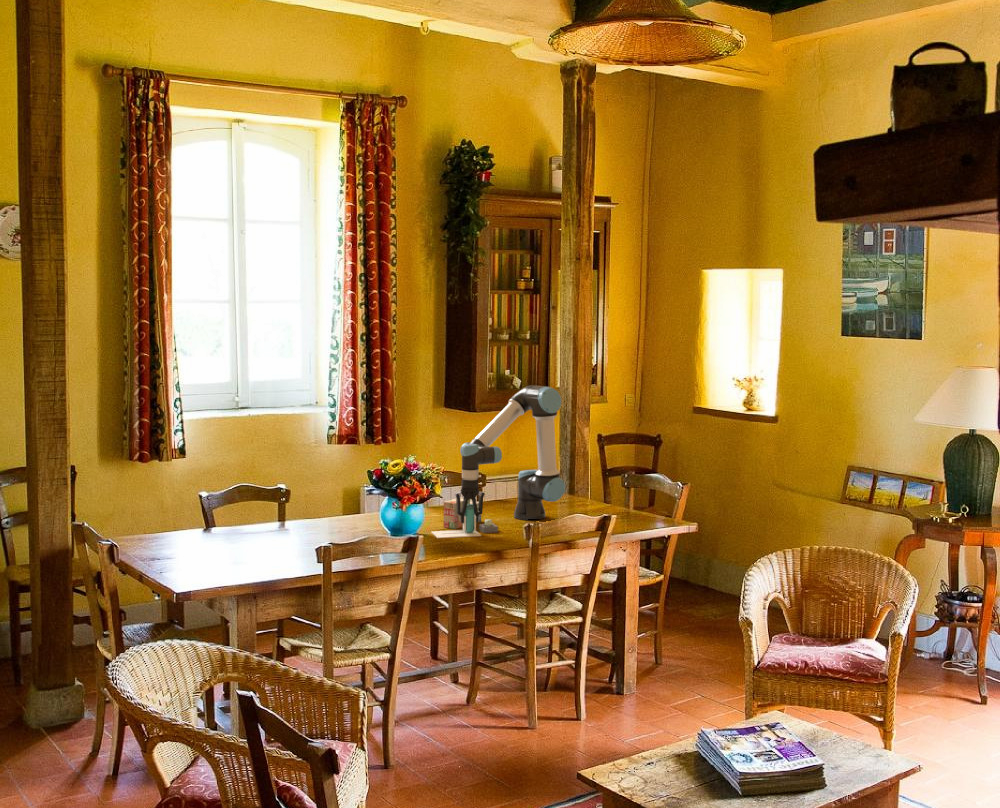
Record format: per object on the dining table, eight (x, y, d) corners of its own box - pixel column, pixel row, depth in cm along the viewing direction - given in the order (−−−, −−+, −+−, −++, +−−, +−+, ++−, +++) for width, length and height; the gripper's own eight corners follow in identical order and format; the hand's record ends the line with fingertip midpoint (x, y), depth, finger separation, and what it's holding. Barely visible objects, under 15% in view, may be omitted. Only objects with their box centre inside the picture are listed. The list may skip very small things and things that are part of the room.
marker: (472, 530, 500) (472, 504, 499) (474, 532, 496) (475, 505, 495) (463, 530, 499) (464, 504, 498) (466, 532, 495) (466, 506, 494)
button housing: (493, 528, 508) (493, 523, 508) (498, 532, 501) (498, 526, 501) (478, 529, 506) (478, 524, 506) (483, 532, 499) (483, 527, 499)
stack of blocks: (470, 519, 527) (471, 494, 526) (481, 521, 524) (481, 496, 522) (443, 527, 510) (443, 501, 509) (454, 529, 506) (454, 502, 505)
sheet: (473, 530, 505) (473, 529, 505) (481, 535, 493) (481, 534, 493) (431, 532, 499) (431, 531, 499) (437, 538, 487) (437, 537, 487)
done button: (490, 526, 506) (491, 519, 505) (493, 528, 502) (493, 520, 502) (483, 527, 505) (483, 519, 504) (485, 528, 501) (486, 521, 501)
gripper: (485, 476, 501) (485, 527, 504) (449, 477, 496) (448, 529, 499) (490, 479, 494) (489, 530, 497) (453, 480, 489) (453, 532, 492)
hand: (469, 529), depth 498 cm, fingers closed on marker, 4 cm apart
